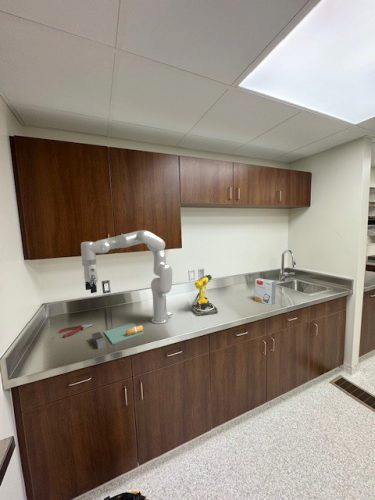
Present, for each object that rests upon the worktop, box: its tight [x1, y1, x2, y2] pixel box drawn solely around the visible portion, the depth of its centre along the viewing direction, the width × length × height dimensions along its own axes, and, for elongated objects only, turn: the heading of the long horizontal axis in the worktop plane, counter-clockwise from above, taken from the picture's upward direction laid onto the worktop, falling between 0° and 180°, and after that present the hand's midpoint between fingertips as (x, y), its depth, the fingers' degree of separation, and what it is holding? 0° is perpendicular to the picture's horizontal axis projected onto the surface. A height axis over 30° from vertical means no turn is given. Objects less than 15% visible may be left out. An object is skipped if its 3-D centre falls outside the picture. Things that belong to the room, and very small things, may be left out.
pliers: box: [59, 323, 94, 339], centre depth 144 cm, size 12×20×3 cm, turn 134°
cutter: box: [91, 331, 106, 350], centre depth 125 cm, size 4×13×4 cm, turn 36°
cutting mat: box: [103, 322, 145, 345], centre depth 136 cm, size 20×19×5 cm
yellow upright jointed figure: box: [191, 274, 219, 316], centre depth 169 cm, size 18×19×28 cm
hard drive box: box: [254, 277, 276, 306], centre depth 184 cm, size 16×8×20 cm, turn 42°
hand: (91, 291), depth 125 cm, fingers open, 9 cm apart
